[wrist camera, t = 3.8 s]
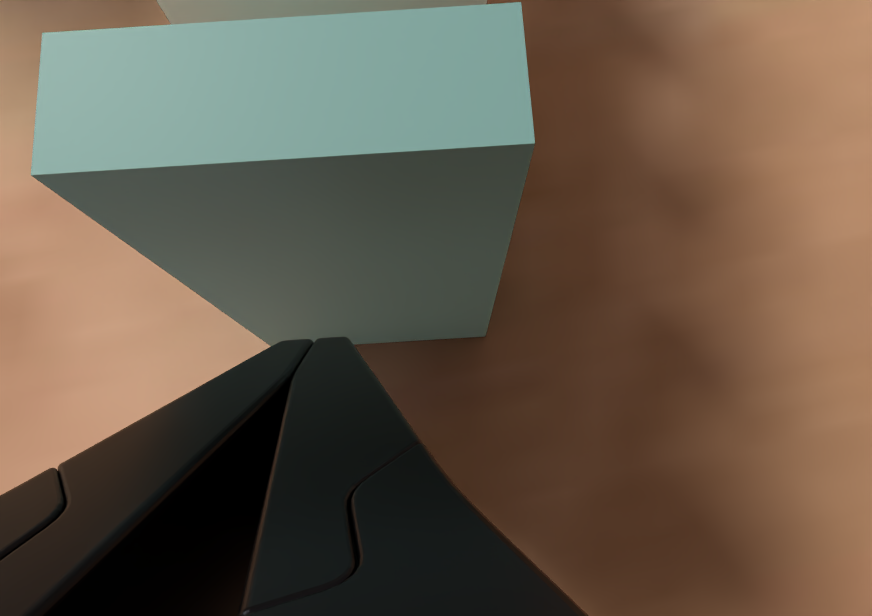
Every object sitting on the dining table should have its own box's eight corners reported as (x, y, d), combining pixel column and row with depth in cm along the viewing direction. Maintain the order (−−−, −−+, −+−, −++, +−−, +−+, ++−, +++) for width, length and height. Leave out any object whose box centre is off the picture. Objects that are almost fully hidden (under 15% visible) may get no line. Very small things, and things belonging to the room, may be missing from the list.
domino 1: (473, 178, 18) (501, -189, 8) (274, 190, 18) (56, -159, 8) (469, 119, 18) (490, -300, 8) (274, 132, 18) (66, -271, 8)
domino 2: (485, 336, 17) (535, 142, 7) (275, 349, 17) (31, 174, 7) (480, 271, 17) (521, 2, 7) (274, 284, 17) (41, 31, 7)
